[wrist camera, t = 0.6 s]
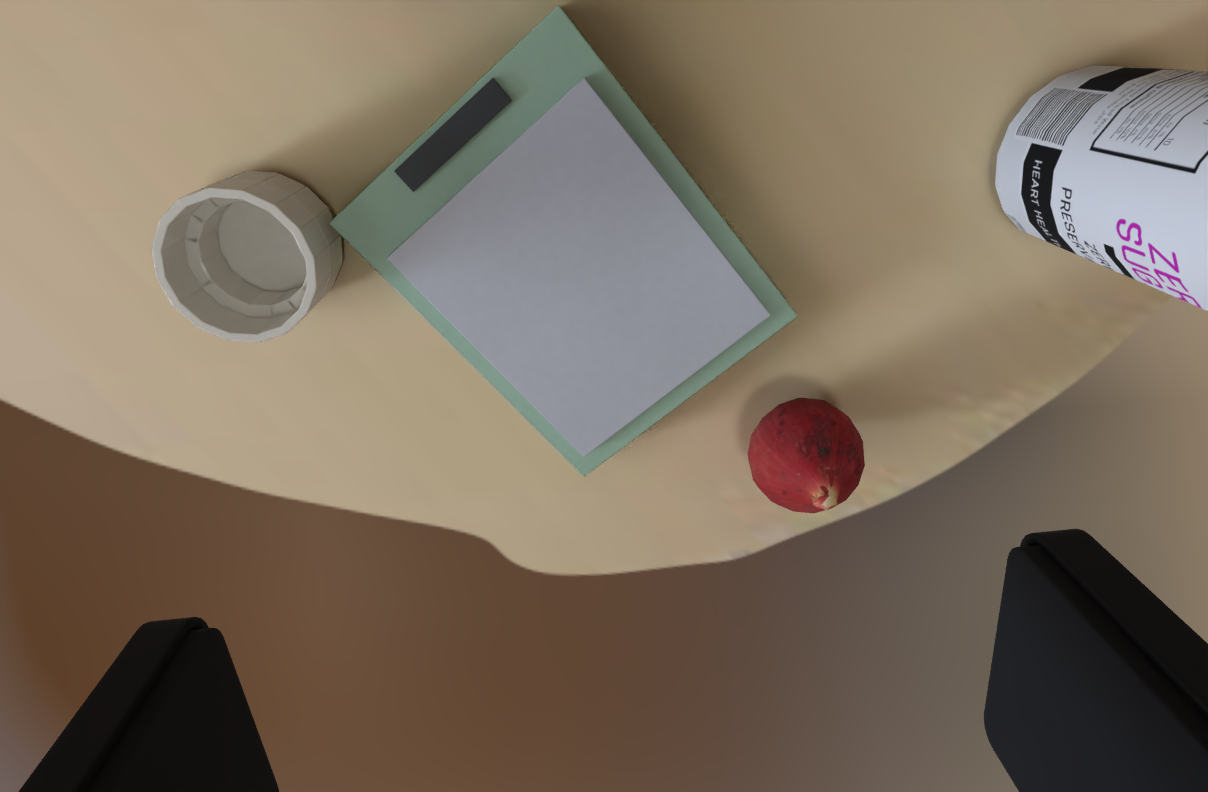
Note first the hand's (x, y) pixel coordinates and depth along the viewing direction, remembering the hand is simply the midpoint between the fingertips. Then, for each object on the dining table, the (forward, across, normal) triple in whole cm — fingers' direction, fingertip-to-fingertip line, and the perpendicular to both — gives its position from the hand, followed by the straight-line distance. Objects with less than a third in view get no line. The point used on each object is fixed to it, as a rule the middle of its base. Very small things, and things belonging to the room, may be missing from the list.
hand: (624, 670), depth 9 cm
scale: (+32, +1, +3) cm, 32 cm away
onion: (+32, -10, +13) cm, 36 cm away
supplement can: (+32, -24, 0) cm, 40 cm away
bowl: (+32, +15, 0) cm, 35 cm away
